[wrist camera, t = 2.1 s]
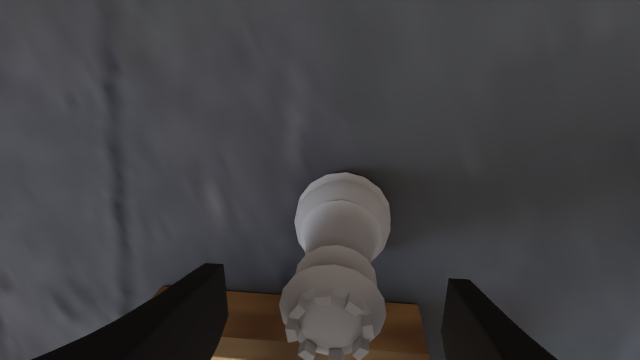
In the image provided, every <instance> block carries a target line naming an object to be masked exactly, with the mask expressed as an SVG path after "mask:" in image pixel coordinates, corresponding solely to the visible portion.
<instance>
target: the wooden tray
mask: <svg viewBox="0 0 640 360" xmlns="http://www.w3.org/2000/svg"><path fill="white" fill-rule="evenodd" d="M167 288H169V287H165V286H162V287H161V288H160V289H159V290H158V292H157V293H156V294H155V295H154V297H155V296H157V295H158V294H160V293H161V292H163V291H164V290H166V289H167ZM226 294H227V304H228V313H229V316H228V319H227V322H226V325H225V328H224V331H223V333H222V336H221V339H220V342H219V344H218V346H217V348H216V350H215V353H214V355H213V357H212V359H211V360H305V359H303V358H302V357H300V356H299V355H297V354H298V349H299V345H300V342H299V341H298V340H297V341H294V342H289V343H288V340H287V335H286V331H285V327H286V325H285V324H284V323H283V320H282V315H281V311H280V307H279V303H280V299H281V295H277V294H263V293H249V292H235V291H226ZM154 297H153V298H154ZM385 310H386V318H385V321H384V324H383V326H382V329H381V332H380V333H379V334H378V335H377V336H376V337H375V339H373V340H371V341H370V342H369V346H370V352H369V353H368V354H367V355H366V356H365V357H363V358H362V359H361V360H430V358H429V355H428V354H429V353H428V349H427V344H426V339H425V335H424V330H423V325H422V320H421V316H420V311H419V306H418V305H417V304H403V303H389V302H385ZM314 360H328V355H324V354H321V353H317V352H316V354H315V358H314ZM345 360H356V359H355V358H354V357H353V356H352V352H351V353H349V354H346V355H345Z"/></svg>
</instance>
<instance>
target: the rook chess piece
mask: <svg viewBox="0 0 640 360" xmlns="http://www.w3.org/2000/svg"><path fill="white" fill-rule="evenodd" d="M390 222H391V217H390V208H389V203H388V201H387V200H386V198H385V196H384V194H383V193H382V191H381V189H380V188H379V187H377V186H376V185H375V184H373V183H372V182H370V181H369V180H368V179H366V178H365V177H362V176H358V175H354V174H350V173H347V172H344V173H336V174H327V175H325V176H323V177H321V178H319V179H318V180H316V181H314V182H312V183H310V185H309V186H308V187H307V189H306V190H305V191H304V192H303V194H302V195H301V196H300V199H299V203H298V207H297V211H296V217H295V221H294V223H295V228H296V233H297V238H298V242H299V243H300V245H301V246H302V248H303V249H304V251H305V256H304V258H303V259H302V260H301V261H300V262H299V263H298V266H297V270H296V274H295V275H294V276H293V277H292V279H291V280H290V281H289V282H288V283H287V284H286V286H285V287H284V288H283V291H282V295H281V299H280V303H279V307H280V311H281V315H282V320H283V323H284V324H285V325H286V327H285V331H286V335H287V340H288V343H289V342H294V341H297V340H298V341H299V342H300V345H299V349H298V354H297V355H299V356H300V357H302V358H303V359H305V360H314V358H315V354H316V352H317V353H321V354H324V355H328V360H345V355H346V354H349V353H351V352H352V356H353V357H354V358H355V359H356V360H361V359H362V358H363V357H365V356H366V355H367V354H368V353H369V352H370V346H369V342H370V341H371V340H373V339H375V337H376V336H377V335H378V334H379V333H380V332H381V329H382V326H383V324H384V321H385V318H386V310H385V302H384V298H383V296H382V294H381V293H380V291H379V290H378V288H377V281H376V274H375V270H374V269H373V267H372V265H371V262H372V261H373V260H374V259H375V258H376V257H377V256H378V254H379V253H380V252H381V251H382V250H383V249H384V247H385V245H386V242H387V239H388V236H389V233H390V230H391V228H390Z"/></svg>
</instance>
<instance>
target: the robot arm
mask: <svg viewBox="0 0 640 360" xmlns="http://www.w3.org/2000/svg"><path fill="white" fill-rule="evenodd" d="M228 316H229V313H228V304H227V294H226V285H225V275H224V265H223V264H211V263H205V264H203V265H202V266H200V267H198V268H197V269H195V270H194V271H192V272H191V273H189V274H188V275H186V276H185V277H184V278H182V279H181V280H179V281H178V282H176V283H175V284H173V285H172V286H170V287H169V288H167V289H166V290H164V291H163V292H161V293H160V294H158V295H157V296H155V297H154V298H152V299H150V300H149V301H147V302H146V303H144V304H142V305H141V306H139V307H137V308H136V309H134V310H133V311H131V312H129V313H128V314H126V315H124V316H123V317H121V318H119V319H117V320H115V321H114V322H112V323H110V324H108V325H106V326H104V327H102V328H100V329H98V330H97V331H95V332H93V333H91V334H89V335H87V336H85V337H82V338H80V339H78V340H76V341H74V342H71V343H69V344H67V345H65V346H62V347H60V348H58V349H56V350H53V351H51V352H49V353H47V354H44V355H42V356H39V357H37V358H34V359H31V360H211V359H212V357H213V355H214V353H215V350H216V348H217V346H218V344H219V342H220V339H221V336H222V333H223V331H224V328H225V325H226V322H227V319H228ZM441 333H442V339H443V345H444V351H445V356H446V360H558V359H556V358H555V357H554V356H552V355H551V354H550V353H549V352H547V351H546V350H545V349H544V348H543V347H541V346H540V345H539V344H538V343H537V342H535V341H534V340H533V339H532V338H531V337H530V336H528V335H527V334H526V333H525V332H524V331H523V330H522V329H520V328H519V327H518V326H517V325H516V324H515V323H514V322H513V321H512V320H511V319H510V318H508V317H507V316H506V315H505V314H504V313H503V312H502V311H501V310H500V309H499V308H498V307H497V306H496V305H495V304H494V303H493V302H492V301H491V300H490V299H489V298H488V297H487V296H486V295H485V294H484V293H483V292H482V291H481V290H480V289H479V288H478V287H477V286H476V285H474V284H473V283H472V282H471V281H470V280H467V279H451V278H449V281H448V287H447V294H446V301H445V308H444V315H443V322H442V329H441Z"/></svg>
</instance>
